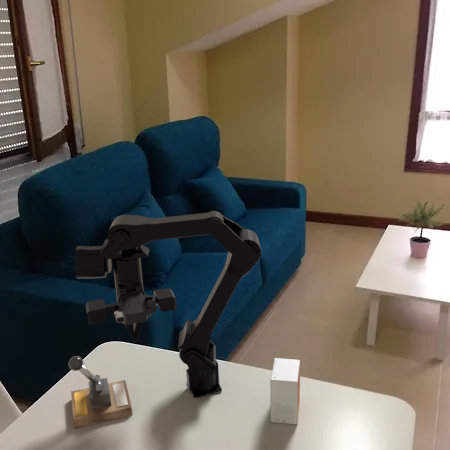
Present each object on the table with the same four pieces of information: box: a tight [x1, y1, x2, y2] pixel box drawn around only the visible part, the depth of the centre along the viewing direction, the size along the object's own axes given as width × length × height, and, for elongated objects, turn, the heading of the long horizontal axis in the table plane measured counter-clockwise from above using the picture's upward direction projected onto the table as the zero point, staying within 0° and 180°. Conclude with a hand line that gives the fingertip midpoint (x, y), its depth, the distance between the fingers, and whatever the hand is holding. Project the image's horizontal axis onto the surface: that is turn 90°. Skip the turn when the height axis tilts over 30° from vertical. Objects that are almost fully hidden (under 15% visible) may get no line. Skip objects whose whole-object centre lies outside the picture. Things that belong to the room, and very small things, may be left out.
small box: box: [269, 357, 301, 425], centre depth 112 cm, size 8×6×10 cm
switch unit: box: [70, 377, 133, 429], centre depth 117 cm, size 12×10×5 cm
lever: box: [67, 355, 102, 393], centre depth 114 cm, size 3×5×9 cm
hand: (135, 340), depth 118 cm, fingers closed
